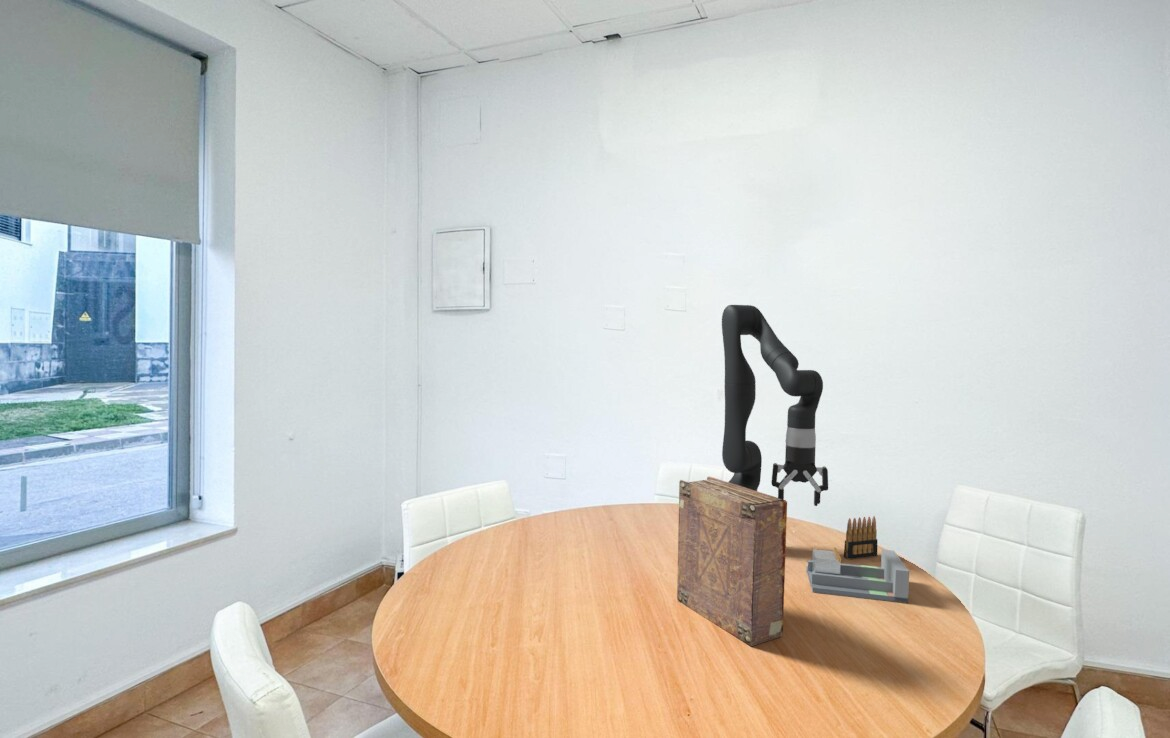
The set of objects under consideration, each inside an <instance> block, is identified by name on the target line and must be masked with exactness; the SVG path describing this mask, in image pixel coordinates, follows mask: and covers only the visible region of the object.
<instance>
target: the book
mask: <svg viewBox="0 0 1170 738" xmlns="http://www.w3.org/2000/svg"><path fill="white" fill-rule="evenodd" d="M678 490H679V491H678V494H679V495H678V496H679V497H678V532H677V533H678V534H677V535H678V537H677V538H678V540H677V542H678V543H677V544H678V545H677V546H678V547H677V586H676V587H677V588H676V589H677V594H676V595H677V596H676V599H677V601H678V602H679V603H681V604H682V605H683V606H686V608H689V609H690V610H691V611H694V613H696V614H698V615H699V616H701V617H703V618H704V619H706V620H707V621H709V622H711V623H712V624H714V625H716V626H718V627H719V628H721V629H722V630H724V631H725V632H727V633H728V634H730V635H732V636H733V637H735V638H736V639H738V640H739V641H741V642H743V643H745V644H746V645H747V646H749V647H755V646H757V645H760V644H763V643H766V642H769V641H772V640H775V639H778V638H779V639H780V638H781V637H783V635H784V634H783V633H784V608H785V581H786V579H785V575H786V551H787V550H786V548H787V547H786V546H787V545H786V543H787V519H788V518H787V517H788V516H787V515H788V501H787V500H786V499H784V500H783V499H780V498H778V496H777V497H776V496H773V495H771V494H767V493H763V492H760V491H758V490H757V491H754V490H751V489H748V488H745V487H742V486H738V485H735V484H732V483H729V481H725V480H722V479H719V478H715V477H712V476H707V478H706V479H703V480H695V481H686V480H684V479H680V480H679V486H678Z"/></svg>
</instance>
